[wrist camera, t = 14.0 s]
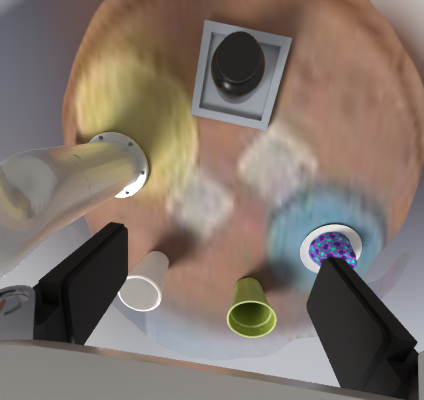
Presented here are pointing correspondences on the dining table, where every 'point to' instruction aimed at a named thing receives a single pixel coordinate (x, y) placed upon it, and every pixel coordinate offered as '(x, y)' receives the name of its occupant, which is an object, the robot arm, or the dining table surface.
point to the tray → (266, 91)
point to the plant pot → (250, 310)
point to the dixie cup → (145, 282)
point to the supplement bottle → (237, 67)
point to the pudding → (331, 246)
